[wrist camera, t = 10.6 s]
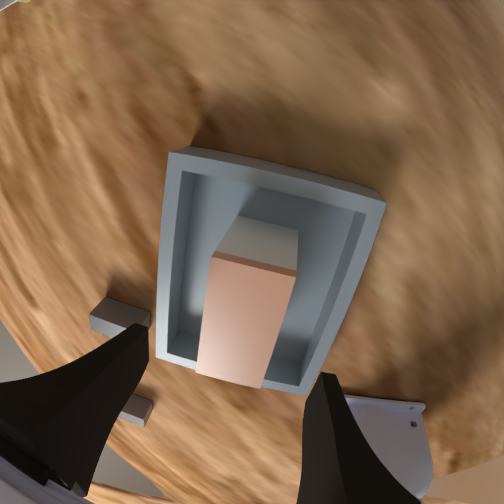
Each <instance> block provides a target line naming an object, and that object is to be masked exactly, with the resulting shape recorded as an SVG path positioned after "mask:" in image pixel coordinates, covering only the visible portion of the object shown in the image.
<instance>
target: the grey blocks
mask: <svg viewBox="0 0 504 504" xmlns="http://www.w3.org/2000/svg"><path fill="white" fill-rule="evenodd" d="M89 319H90V325H91V330H93V331H96V332H98V333H101V334H103V335H106V336H108V337H111V338H113V337H115V336H116V335H118V334H119V333H121V332H122V331H123V330H125V329H126V328H128V327H129V326H131V325H132V324H134V323H138V324H140V325H143V326H146V327H148V330H149V328H150V312H149V311H146V310H143V309H140V308H137V307H134V306H131V305H128V304H125V303H122V302H119V301H116V300H113V299H110V298H107V297H105V298H104V299H103V300H102V301H101V302H100V303H99V304H98V305H97V306H96V307H95V308H94V309H93V310H92V312H91V313H90V314H89ZM152 410H153V402H152V401H151V400H148V399H145V398H143V397H140V396H137V395H135V394H132V395H131V396H130V398H129V400H128V401H127V403H126V404H125V406H124V408H123V409H122V411H121V413H120V414H119V416H118V417H119V418H122V419H124V420H127V421H129V422H132V423H134V424H137V425H140V426H142V427H145V425H146V423H147V421H148V419H149V416H150V414H151V412H152Z"/></svg>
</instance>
